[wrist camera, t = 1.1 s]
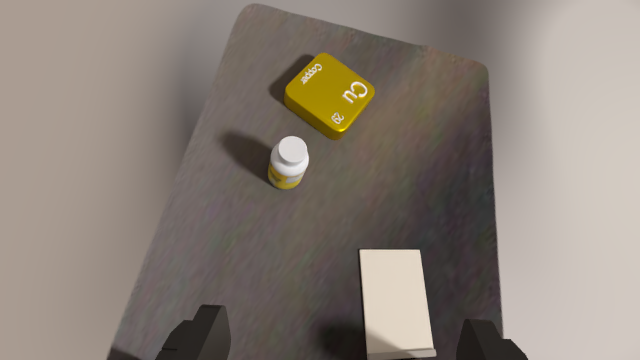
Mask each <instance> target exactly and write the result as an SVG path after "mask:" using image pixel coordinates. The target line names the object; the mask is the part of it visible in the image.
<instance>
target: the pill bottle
mask: <svg viewBox="0 0 640 360" xmlns="http://www.w3.org/2000/svg"><path fill="white" fill-rule="evenodd" d="M308 162H309V157H308V153H307V147H306V144H305V143H304V141H303V140H301V139H300V138H298V137H294V136H289V137H285V138H284V139H282V140H281V141H280V143H278V144H277V145H276V146H275V147H274V148H273V150H272V153H271V157H270V163H269V168H268V178H269V181H270V182H271V184H272V185H273V186H274V187H276V188H278V189H280V190H290V189H293V188H295V187H296V186H297V185H298V184H299V182H300V181H301V178H302V176H303V174H304V172H305V170H306V168H307V165H308Z"/></svg>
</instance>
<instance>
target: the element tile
mask: <svg viewBox="0 0 640 360" xmlns="http://www.w3.org/2000/svg"><path fill="white" fill-rule="evenodd" d="M374 94H375V89H374V87H373V86H372V85H371V84H370V83H368V82H367V81H366V80H364V79H363V78H362V77H360V76H359V75H357V74H356V73H355V72H353V71H352V70H351V69H349V68H348V67H346V66H345V65H344V64H342V63H341V62H340V61H338V60H337V59H335V58H334V57H333V56H331V55H330V54H327V53H321V54H319V55H317V56H316V57H315V58H314V59H313V60H312V61H311V62H310V63H309V64H308V65H307V66H306V67H305V68H304V69H303V70H302V71H301V72H300V73H299V74H298V75H297V76H296V77H295V78H294V79H293V80H292V81H291V82H290V83H289V84H288V85H287V86H286V89H285V93H284V99H283V102H284V104H285V106H286V107H287V108H289V109H290V110H291V111H293V112H294V113H295V114H297V115H298V116H299V117H301V118H302V119H303V120H305V121H306V122H307V123H309V124H310V125H311V126H313V127H314V128H316V129H317V130H318V131H320V132H321V133H322V134H324V135H325V136H326V137H328V138H329V139H331V140H339V139H341V138H342V137H343V136H344V134H345V133H346V132H347V131H348V129H349V128H350V127H351V126H352V124H353V123H354V122H355V121H356V119H357V118H358V117H359V116H360V115H361V113H362V112H363V111H364V110H365V108H366V107H367V106H368V104H369V103H370V101H371V99H372V98H373V96H374Z"/></svg>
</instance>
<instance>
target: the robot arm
mask: <svg viewBox="0 0 640 360" xmlns="http://www.w3.org/2000/svg"><path fill="white" fill-rule="evenodd" d="M230 344H231V335H230V329H229V323H228V317H227V311H226V307H225V306H222V305H205V304H203V305H201V306H200V308H199V309H198V311H197V313H196V315H195V317H194V319H193V321H190V320H184V321H183V322H182V323H181V324H179V325H178V326H177V327H176V328H175V329H174V330H173V331H172V332H171V333H170V335H169V336H168V338H167V340H166V342H165V343H164V345H163V347H162V350H161V351H160V352H159V354H158V355H157V357H156V359H155V360H227V357H228V354H229V350H230ZM456 359H457V360H528V358H527V357H526V355H525V354H524V353H523V352H522V351H521V350H520V349H519V348H518V347H517V345H516V344H515V343H514V342H513V341H511V339H501V337H500V335H499V333H498V331H497V329H496V327H495V325H494V323H493V322H492V321H490V320H478V319H465V321H464V323H463V327H462V331H461V335H460V339H459V343H458V347H457V352H456Z"/></svg>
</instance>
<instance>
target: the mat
mask: <svg viewBox="0 0 640 360" xmlns="http://www.w3.org/2000/svg"><path fill="white" fill-rule="evenodd" d="M359 253H360V266H361V280H362V293H363V307H364V320H365V334H366V347H367V360H390V359H404V358H417V357H431V356H436V351H435V349H433V342H432V335H431V328H430V321H429V314H428V307H427V299H426V292H425V285H424V278H423V271H422V264H421V257H420V250H359Z"/></svg>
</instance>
